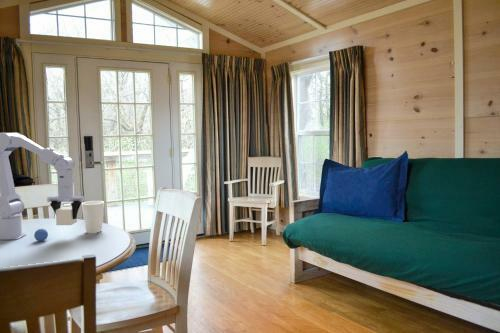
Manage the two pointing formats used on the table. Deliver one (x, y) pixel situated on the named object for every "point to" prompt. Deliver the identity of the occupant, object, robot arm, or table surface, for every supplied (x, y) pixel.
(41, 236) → the ball
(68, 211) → the white cubic block
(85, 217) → the foam cup
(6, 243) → the table surface
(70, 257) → the table surface
